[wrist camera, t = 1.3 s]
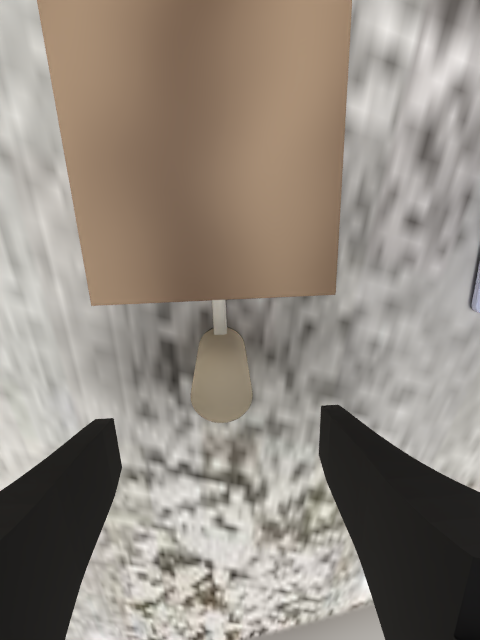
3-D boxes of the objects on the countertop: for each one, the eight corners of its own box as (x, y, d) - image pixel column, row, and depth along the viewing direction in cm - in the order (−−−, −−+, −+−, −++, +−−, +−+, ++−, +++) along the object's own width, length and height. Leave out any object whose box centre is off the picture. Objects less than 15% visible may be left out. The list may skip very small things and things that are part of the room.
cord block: (255, 30, 14) (272, -59, 10) (261, 367, 20) (273, 419, 15) (152, 32, 14) (117, -59, 10) (184, 371, 19) (172, 425, 15)
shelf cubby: (302, -25, 14) (363, -203, 8) (296, 265, 18) (335, 294, 12) (98, -23, 14) (0, -206, 8) (136, 272, 18) (91, 305, 11)
